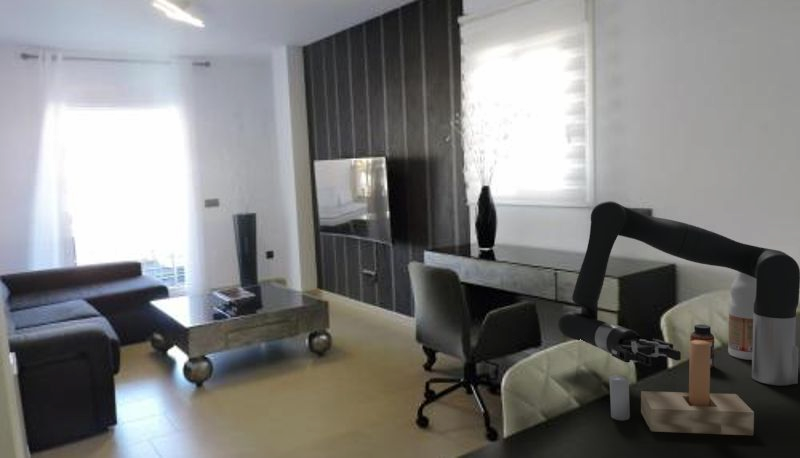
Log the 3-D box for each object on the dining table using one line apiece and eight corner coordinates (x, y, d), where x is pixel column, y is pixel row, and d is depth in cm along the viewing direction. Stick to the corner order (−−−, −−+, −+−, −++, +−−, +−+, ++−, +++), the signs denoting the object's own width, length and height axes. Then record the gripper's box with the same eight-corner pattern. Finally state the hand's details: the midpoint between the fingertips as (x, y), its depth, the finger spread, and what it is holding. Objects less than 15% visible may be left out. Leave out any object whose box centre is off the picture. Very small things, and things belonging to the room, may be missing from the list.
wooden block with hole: (735, 415, 134) (736, 394, 134) (753, 435, 124) (754, 412, 124) (640, 412, 138) (641, 391, 137) (651, 431, 128) (651, 408, 127)
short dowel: (625, 411, 138) (623, 374, 136) (633, 419, 134) (631, 380, 132) (608, 413, 137) (606, 376, 136) (615, 421, 134) (613, 382, 132)
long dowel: (705, 419, 132) (707, 340, 131) (711, 427, 129) (713, 345, 127) (686, 419, 133) (687, 340, 131) (691, 426, 129) (692, 345, 127)
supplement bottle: (716, 369, 163) (717, 329, 162) (693, 369, 164) (693, 328, 163) (710, 362, 169) (710, 323, 168) (687, 361, 170) (687, 322, 169)
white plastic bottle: (723, 356, 174) (725, 260, 171) (734, 348, 181) (736, 256, 178) (759, 363, 167) (762, 263, 164) (769, 354, 174) (772, 259, 171)
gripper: (594, 329, 151) (640, 347, 136) (639, 323, 156) (689, 339, 141) (594, 358, 152) (640, 379, 137) (639, 351, 157) (688, 370, 142)
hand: (665, 359), depth 139 cm, fingers open, 8 cm apart
